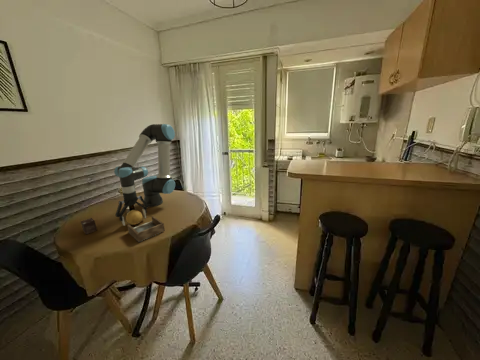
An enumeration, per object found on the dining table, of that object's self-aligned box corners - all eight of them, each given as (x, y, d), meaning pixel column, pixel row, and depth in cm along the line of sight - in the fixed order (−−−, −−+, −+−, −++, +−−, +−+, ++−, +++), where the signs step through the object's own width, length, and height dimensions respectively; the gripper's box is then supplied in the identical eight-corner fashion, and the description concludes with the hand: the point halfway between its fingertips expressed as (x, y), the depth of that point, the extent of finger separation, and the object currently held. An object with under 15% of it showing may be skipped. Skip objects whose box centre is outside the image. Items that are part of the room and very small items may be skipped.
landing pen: (153, 223, 138) (152, 215, 136) (164, 231, 127) (163, 223, 125) (128, 232, 127) (127, 224, 125) (138, 242, 116) (137, 234, 114)
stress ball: (125, 227, 134) (127, 223, 127) (124, 213, 138) (125, 208, 130) (142, 225, 140) (144, 221, 133) (140, 212, 144) (142, 207, 136)
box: (94, 227, 134) (91, 217, 131) (97, 230, 130) (94, 220, 128) (83, 231, 129) (80, 221, 127) (86, 234, 125) (83, 224, 123)
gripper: (146, 185, 141) (150, 213, 147) (105, 195, 124) (112, 226, 130) (150, 187, 136) (155, 216, 142) (108, 198, 119) (116, 230, 125)
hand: (134, 221), depth 136 cm, fingers open, 13 cm apart
